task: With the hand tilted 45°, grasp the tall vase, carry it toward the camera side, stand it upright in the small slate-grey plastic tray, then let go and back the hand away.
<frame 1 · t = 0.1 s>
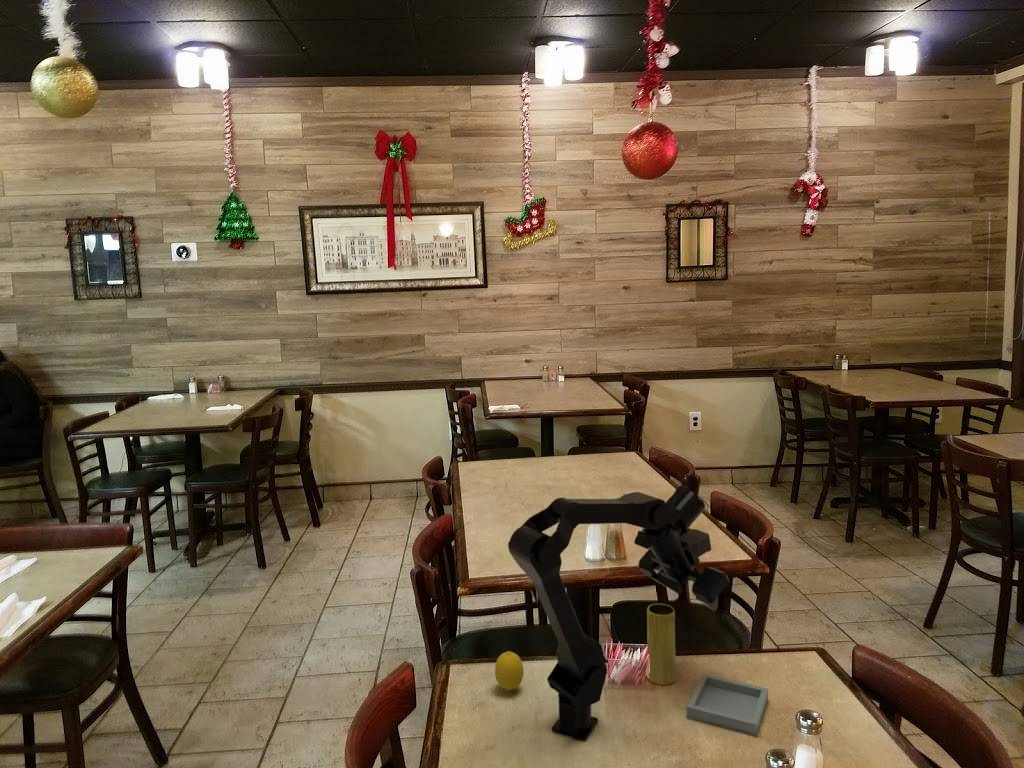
hand: (697, 600, 138), 15 cm above the table, tool tilted 35°, fingers open, 9 cm apart
tray: (728, 708, 128), on the table
vase: (661, 678, 139), on the table
lemon: (509, 691, 136), on the table
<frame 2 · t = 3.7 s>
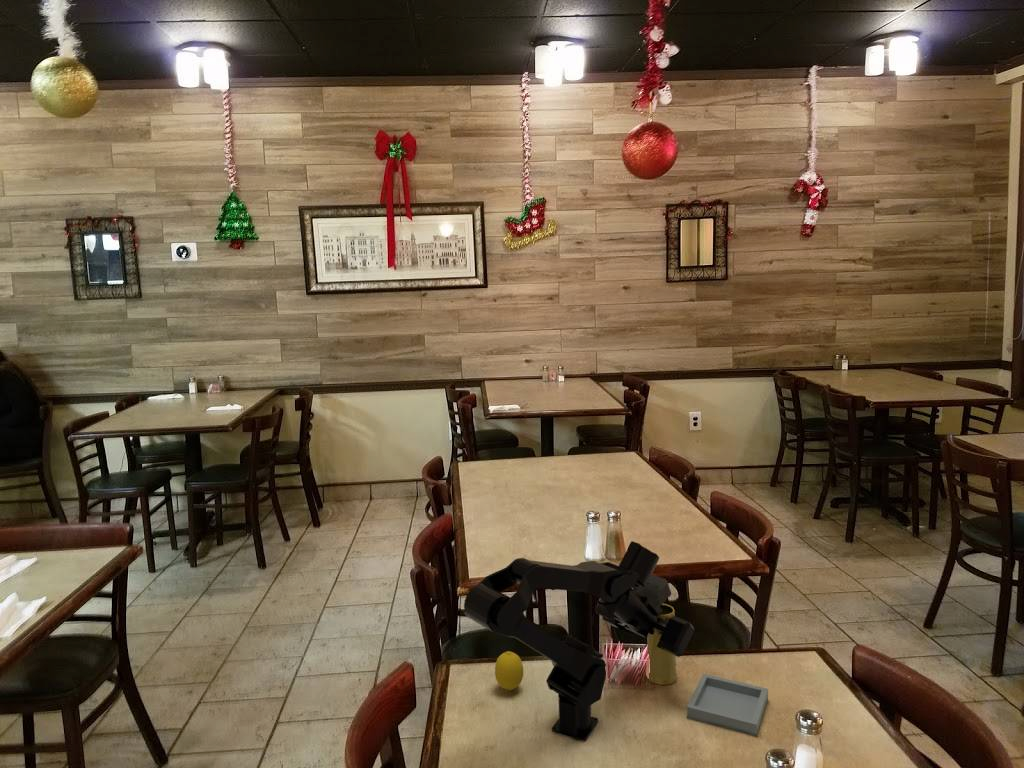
hand: (665, 640, 138), 7 cm above the table, tool tilted 45°, fingers closed on vase, 5 cm apart
vase: (661, 677, 139), on the table, touching gripper
everything else where it was.
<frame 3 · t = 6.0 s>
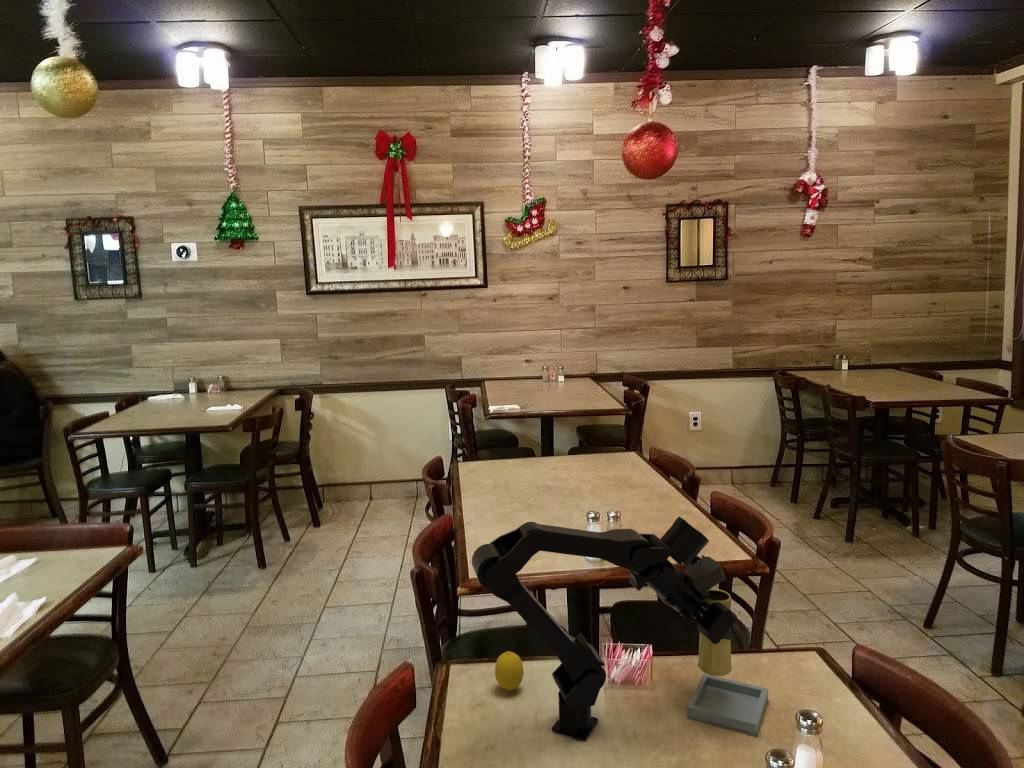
hand: (721, 630, 129), 14 cm above the table, tool tilted 45°, fingers closed on vase, 5 cm apart
vase: (714, 668, 130), point 6 cm above the table, touching gripper
everything else where it was.
when the fingers open (8 cm above the table, at t = 8.2 s): vase stays where it is, resting on tray.
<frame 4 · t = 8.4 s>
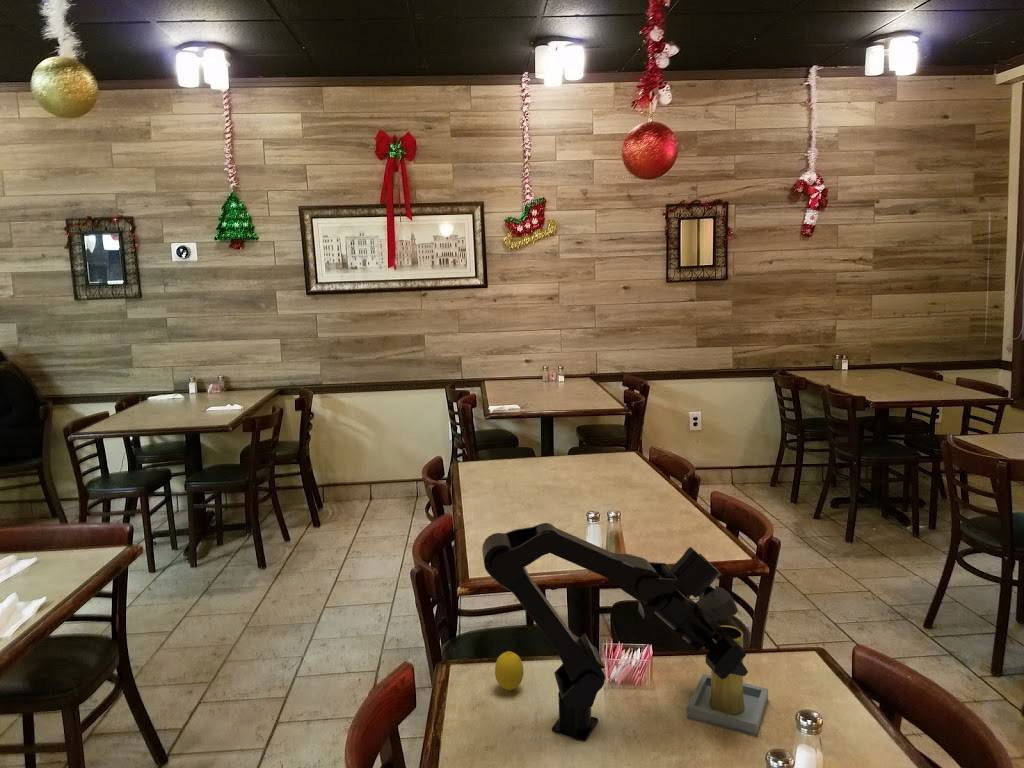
hand: (735, 663, 127), 9 cm above the table, tool tilted 45°, fingers open, 7 cm apart
vase: (727, 706, 128), resting on tray
everything else where it was.
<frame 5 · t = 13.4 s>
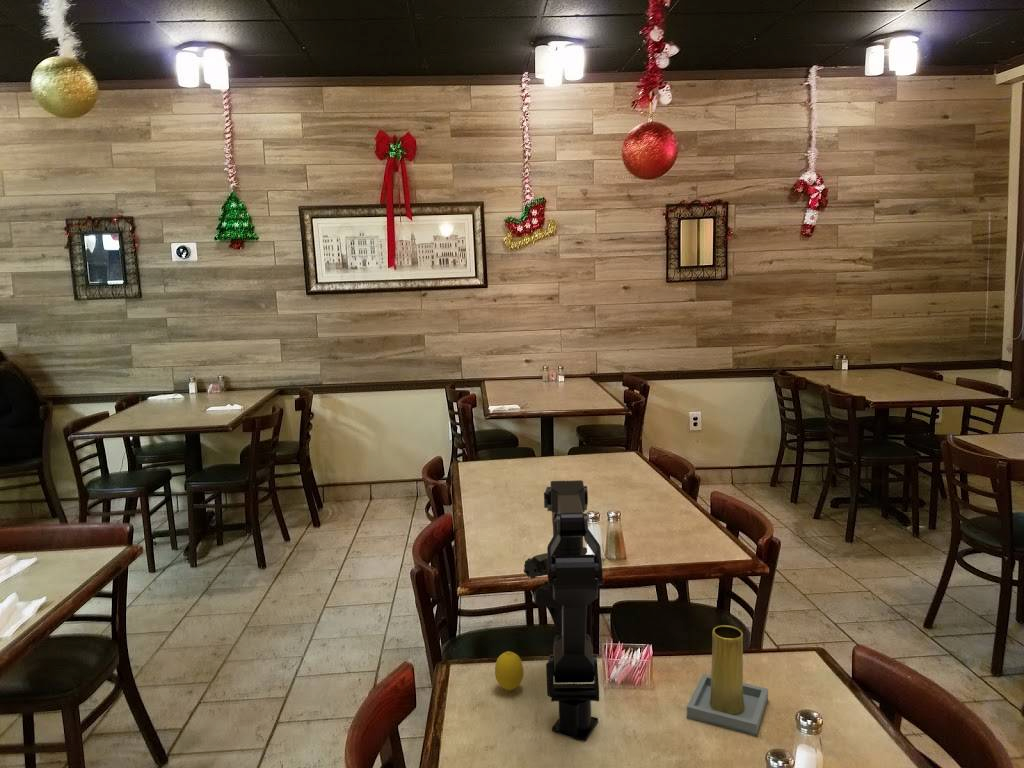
hand: (569, 621, 135), 13 cm above the table, tool pointing down, fingers open, 9 cm apart
nothing on the table moved.
at the end: vase inside the target area on the tray (0.2 cm from its centre), point 0.4 cm above the tray's base; vase tilted 0°; the gripper is holding nothing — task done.
